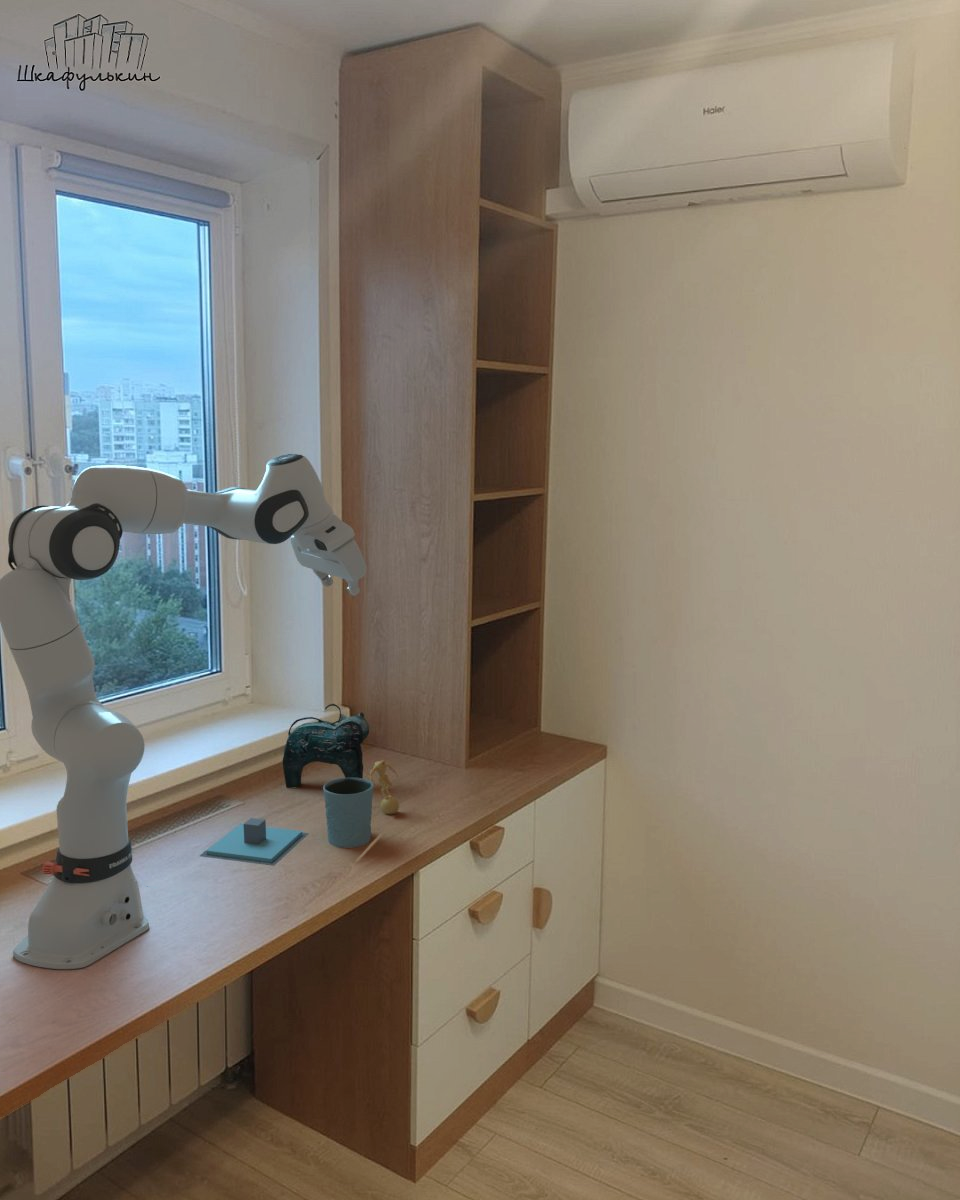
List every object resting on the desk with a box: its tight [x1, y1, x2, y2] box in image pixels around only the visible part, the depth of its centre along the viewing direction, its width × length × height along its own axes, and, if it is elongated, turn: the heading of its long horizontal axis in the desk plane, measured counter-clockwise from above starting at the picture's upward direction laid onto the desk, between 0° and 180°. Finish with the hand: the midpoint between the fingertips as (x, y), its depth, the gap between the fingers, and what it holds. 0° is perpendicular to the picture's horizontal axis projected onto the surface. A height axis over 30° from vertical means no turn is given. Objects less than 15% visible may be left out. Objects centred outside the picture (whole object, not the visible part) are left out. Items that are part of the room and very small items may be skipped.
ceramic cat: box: [282, 703, 370, 788], centre depth 247 cm, size 20×6×20 cm, turn 84°
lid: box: [205, 817, 303, 863], centre depth 215 cm, size 14×14×5 cm
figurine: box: [369, 759, 400, 816], centre depth 232 cm, size 8×6×12 cm
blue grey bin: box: [322, 777, 374, 849], centre depth 217 cm, size 10×10×12 cm
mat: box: [199, 826, 309, 867], centre depth 215 cm, size 16×16×1 cm
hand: (341, 589), depth 214 cm, fingers open, 8 cm apart
